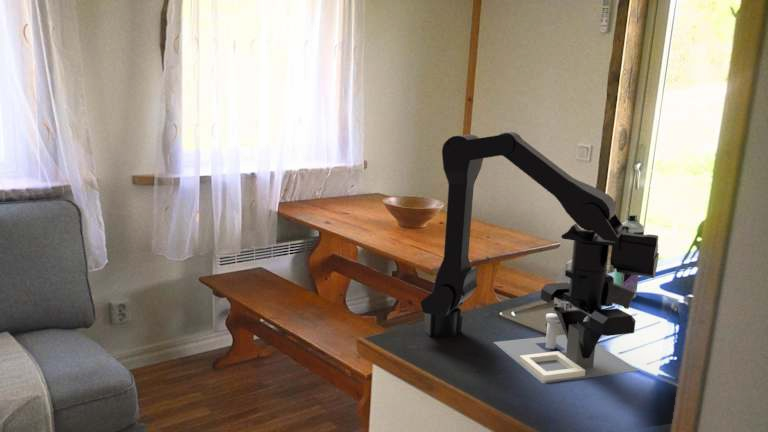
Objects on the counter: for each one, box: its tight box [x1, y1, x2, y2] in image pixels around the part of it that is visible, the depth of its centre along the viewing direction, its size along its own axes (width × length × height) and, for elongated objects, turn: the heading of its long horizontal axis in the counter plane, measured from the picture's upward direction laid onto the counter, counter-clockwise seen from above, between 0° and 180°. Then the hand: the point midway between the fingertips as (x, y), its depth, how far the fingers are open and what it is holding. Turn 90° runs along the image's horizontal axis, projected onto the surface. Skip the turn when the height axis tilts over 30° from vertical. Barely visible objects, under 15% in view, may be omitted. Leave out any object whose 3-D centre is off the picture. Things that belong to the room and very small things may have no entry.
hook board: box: [492, 313, 640, 384], centre depth 109 cm, size 19×17×8 cm
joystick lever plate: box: [519, 324, 595, 381], centre depth 104 cm, size 11×8×7 cm
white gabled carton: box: [553, 259, 572, 305], centre depth 143 cm, size 4×7×10 cm, turn 144°
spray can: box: [613, 214, 645, 299], centre depth 148 cm, size 6×6×20 cm
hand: (580, 353), depth 106 cm, fingers closed on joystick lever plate, 3 cm apart
